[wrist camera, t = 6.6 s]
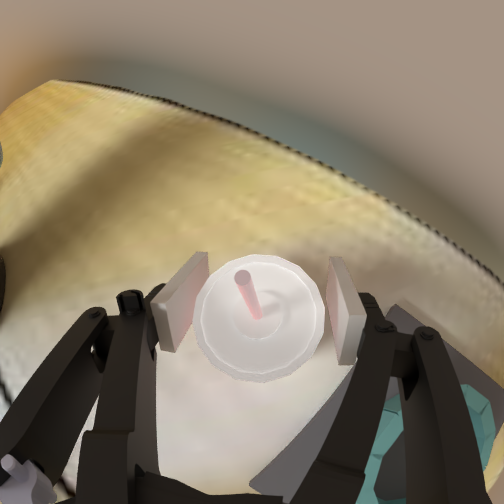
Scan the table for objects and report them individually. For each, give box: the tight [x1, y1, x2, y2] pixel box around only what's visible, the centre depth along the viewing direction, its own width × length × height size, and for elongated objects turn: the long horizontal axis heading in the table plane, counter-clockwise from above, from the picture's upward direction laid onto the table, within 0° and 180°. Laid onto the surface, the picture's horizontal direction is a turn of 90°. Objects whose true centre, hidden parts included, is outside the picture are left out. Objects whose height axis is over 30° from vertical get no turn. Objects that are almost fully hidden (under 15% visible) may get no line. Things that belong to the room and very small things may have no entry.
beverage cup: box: [192, 254, 325, 383], centre depth 14 cm, size 6×6×14 cm
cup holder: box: [249, 304, 504, 504], centre depth 12 cm, size 18×18×5 cm
